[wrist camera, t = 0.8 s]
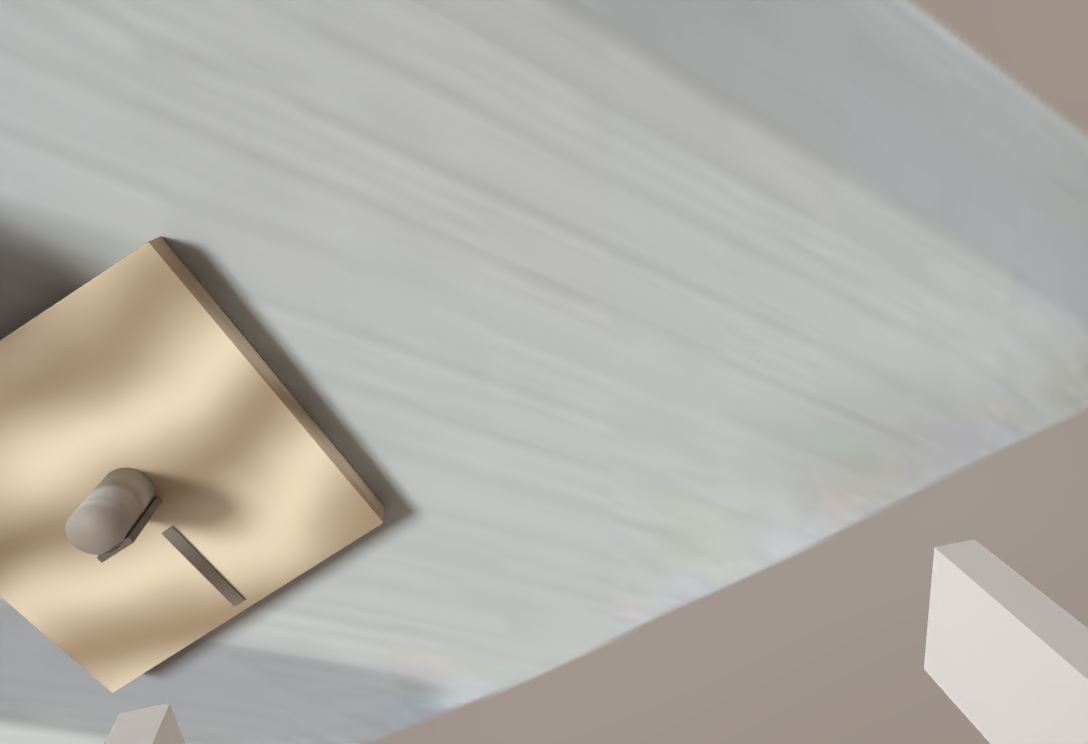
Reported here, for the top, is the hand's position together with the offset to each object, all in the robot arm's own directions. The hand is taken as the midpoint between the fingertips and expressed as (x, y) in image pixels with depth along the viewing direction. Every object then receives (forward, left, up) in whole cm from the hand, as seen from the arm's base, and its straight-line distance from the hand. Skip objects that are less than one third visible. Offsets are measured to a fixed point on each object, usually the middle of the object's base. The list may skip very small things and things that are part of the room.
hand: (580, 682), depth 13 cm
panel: (-3, -17, -23) cm, 29 cm away
